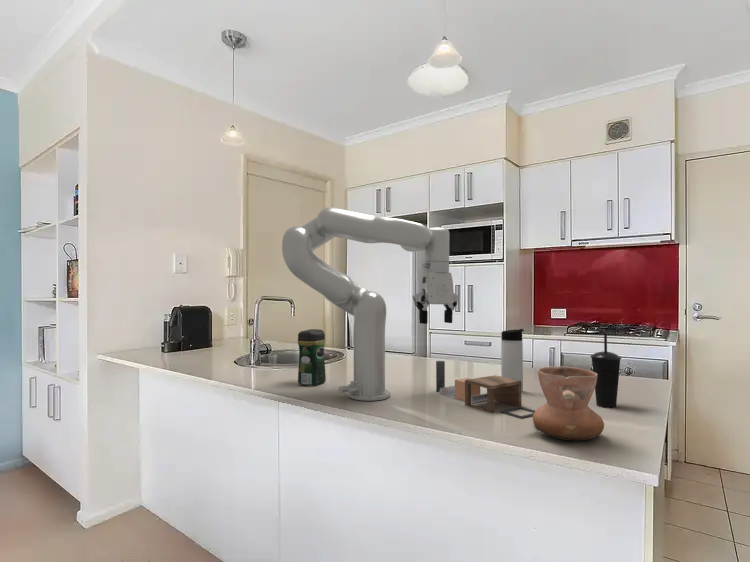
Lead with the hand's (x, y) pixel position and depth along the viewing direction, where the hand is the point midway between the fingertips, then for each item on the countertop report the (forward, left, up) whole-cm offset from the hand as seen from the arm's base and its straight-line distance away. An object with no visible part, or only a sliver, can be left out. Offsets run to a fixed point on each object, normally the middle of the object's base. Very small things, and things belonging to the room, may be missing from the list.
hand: (436, 323), depth 139 cm
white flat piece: (0, -10, -22) cm, 24 cm away
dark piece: (0, -32, -22) cm, 39 cm away
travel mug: (+19, -14, -22) cm, 32 cm away
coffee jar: (-26, +34, -22) cm, 48 cm away
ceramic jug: (-1, -46, -22) cm, 51 cm away
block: (0, -14, -20) cm, 24 cm away
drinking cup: (+30, -37, -22) cm, 52 cm away
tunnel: (0, -23, -22) cm, 32 cm away
